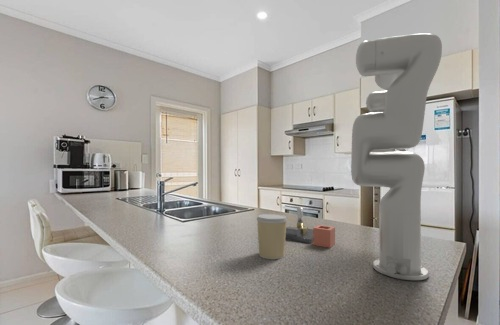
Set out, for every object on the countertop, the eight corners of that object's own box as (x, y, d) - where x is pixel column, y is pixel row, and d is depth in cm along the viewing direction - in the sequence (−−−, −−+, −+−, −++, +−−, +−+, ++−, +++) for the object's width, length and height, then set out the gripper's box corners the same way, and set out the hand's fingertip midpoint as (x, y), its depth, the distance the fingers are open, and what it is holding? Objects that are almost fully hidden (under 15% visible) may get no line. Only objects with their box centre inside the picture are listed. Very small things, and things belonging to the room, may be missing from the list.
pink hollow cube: (330, 247, 88) (330, 230, 88) (313, 244, 91) (313, 227, 91) (334, 243, 93) (335, 227, 93) (318, 241, 96) (318, 224, 96)
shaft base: (310, 243, 93) (310, 212, 93) (277, 238, 100) (278, 209, 100) (323, 234, 106) (323, 207, 106) (294, 230, 113) (294, 205, 114)
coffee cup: (286, 250, 84) (286, 214, 84) (287, 261, 75) (287, 219, 75) (257, 249, 85) (258, 213, 85) (255, 259, 76) (255, 218, 76)
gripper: (355, 128, 104) (355, 171, 104) (404, 124, 94) (405, 171, 94) (359, 131, 110) (359, 171, 110) (406, 127, 101) (406, 171, 100)
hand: (380, 171), depth 102 cm, fingers open, 9 cm apart
